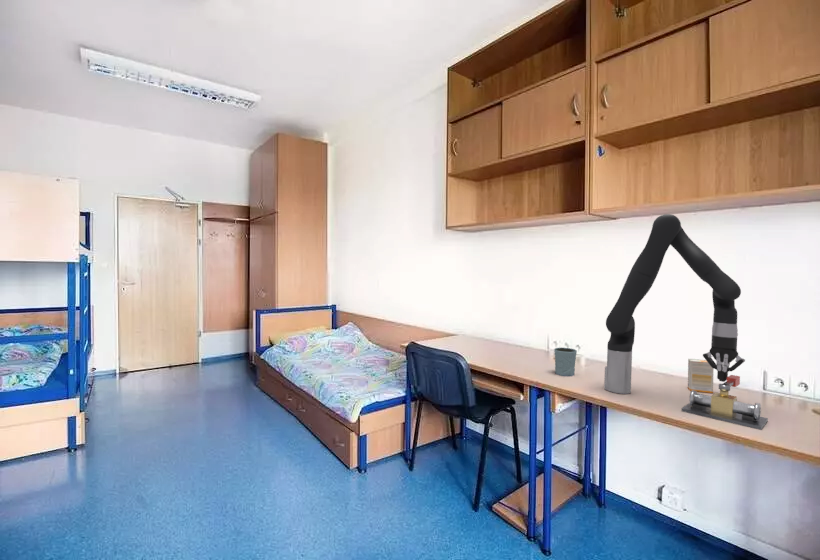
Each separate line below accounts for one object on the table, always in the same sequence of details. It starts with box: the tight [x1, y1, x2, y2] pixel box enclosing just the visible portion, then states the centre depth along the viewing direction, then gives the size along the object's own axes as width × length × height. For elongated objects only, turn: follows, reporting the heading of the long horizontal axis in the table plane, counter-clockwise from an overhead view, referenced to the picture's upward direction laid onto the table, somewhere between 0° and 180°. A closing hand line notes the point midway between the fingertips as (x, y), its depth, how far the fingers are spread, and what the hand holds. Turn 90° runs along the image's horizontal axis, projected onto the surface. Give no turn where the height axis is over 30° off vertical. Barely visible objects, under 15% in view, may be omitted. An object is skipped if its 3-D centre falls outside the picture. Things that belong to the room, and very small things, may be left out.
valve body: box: [681, 389, 769, 431], centre depth 143 cm, size 22×12×9 cm, turn 41°
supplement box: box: [687, 358, 714, 394], centre depth 173 cm, size 8×5×13 cm, turn 66°
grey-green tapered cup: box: [553, 347, 577, 377], centre depth 197 cm, size 10×10×12 cm
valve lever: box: [718, 374, 741, 392], centre depth 147 cm, size 16×3×3 cm, turn 130°
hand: (722, 381), depth 152 cm, fingers closed
